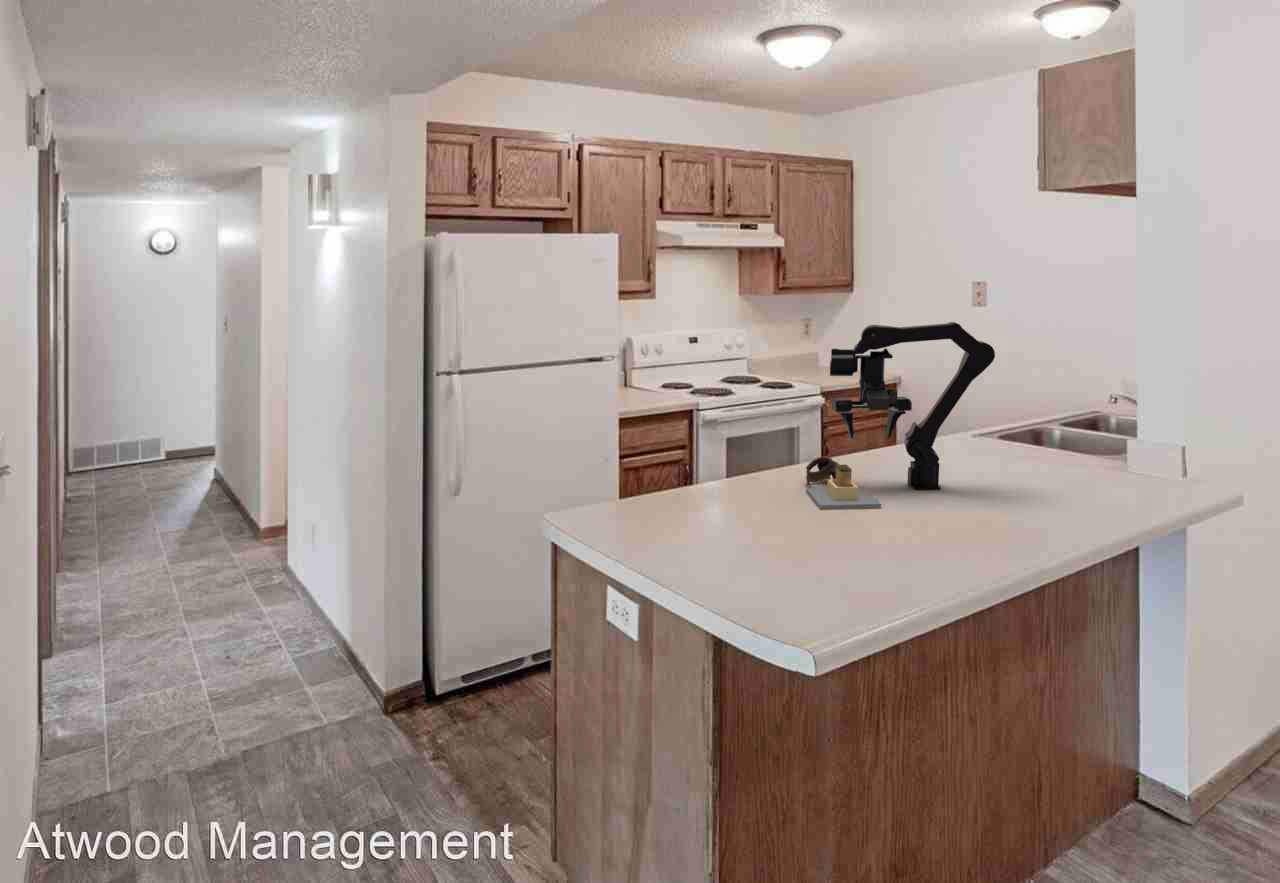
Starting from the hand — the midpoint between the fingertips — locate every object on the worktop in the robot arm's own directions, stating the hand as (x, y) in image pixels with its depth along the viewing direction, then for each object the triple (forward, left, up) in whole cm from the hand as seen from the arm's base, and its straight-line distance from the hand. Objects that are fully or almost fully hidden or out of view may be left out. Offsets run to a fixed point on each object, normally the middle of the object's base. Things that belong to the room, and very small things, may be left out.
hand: (870, 438), depth 217 cm
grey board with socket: (+10, +14, -12) cm, 21 cm away
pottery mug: (+10, -2, -12) cm, 16 cm away
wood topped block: (+10, +14, -11) cm, 20 cm away
